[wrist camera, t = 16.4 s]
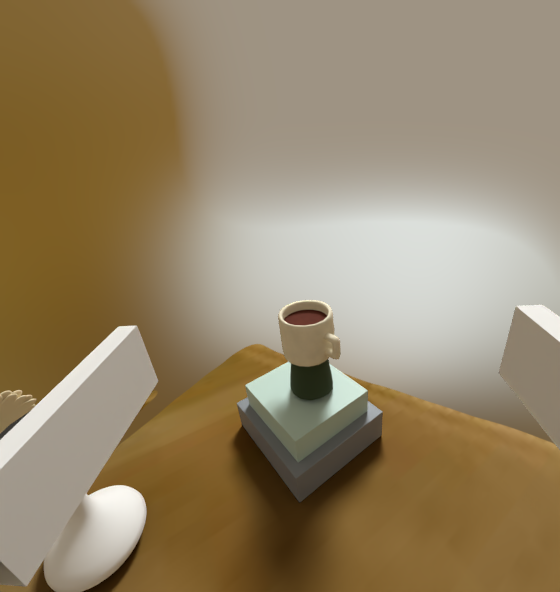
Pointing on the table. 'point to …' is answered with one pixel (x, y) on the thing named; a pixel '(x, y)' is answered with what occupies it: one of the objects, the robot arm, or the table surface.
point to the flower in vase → (86, 524)
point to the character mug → (309, 347)
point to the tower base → (320, 457)
